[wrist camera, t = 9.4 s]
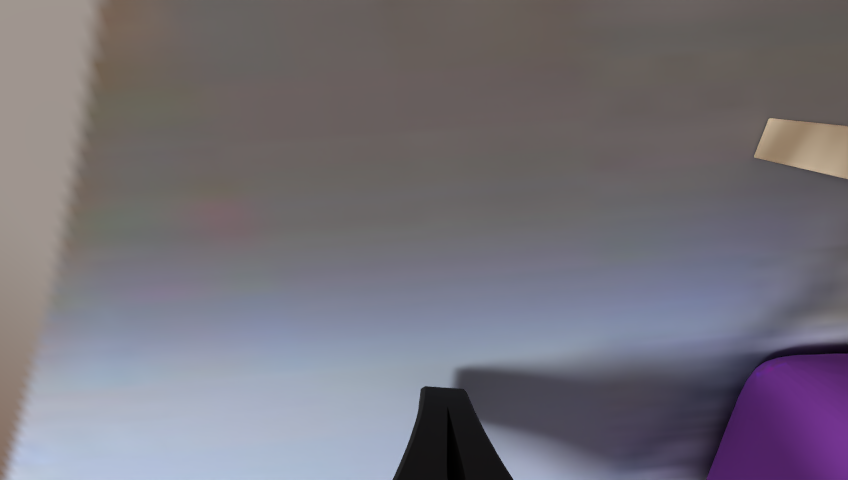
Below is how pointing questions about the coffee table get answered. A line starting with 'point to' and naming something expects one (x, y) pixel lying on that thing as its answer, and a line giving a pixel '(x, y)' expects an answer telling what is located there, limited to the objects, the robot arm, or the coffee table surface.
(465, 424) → the robot arm
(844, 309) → the coffee table surface
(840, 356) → the toy camera
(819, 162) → the wooden tray
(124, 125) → the coffee table surface
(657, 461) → the coffee table surface
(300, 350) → the coffee table surface
